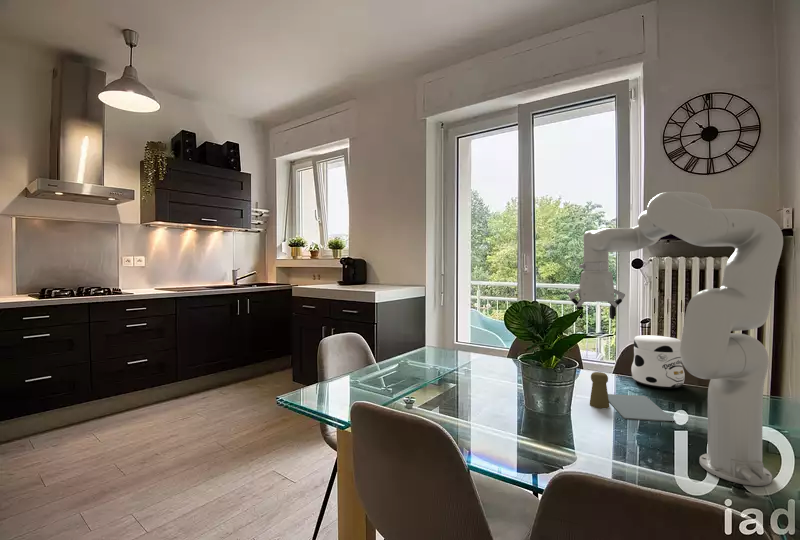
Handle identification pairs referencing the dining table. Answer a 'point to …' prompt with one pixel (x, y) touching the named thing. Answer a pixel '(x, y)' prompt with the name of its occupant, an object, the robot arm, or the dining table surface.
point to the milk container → (657, 361)
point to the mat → (637, 408)
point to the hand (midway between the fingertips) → (596, 318)
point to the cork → (599, 390)
